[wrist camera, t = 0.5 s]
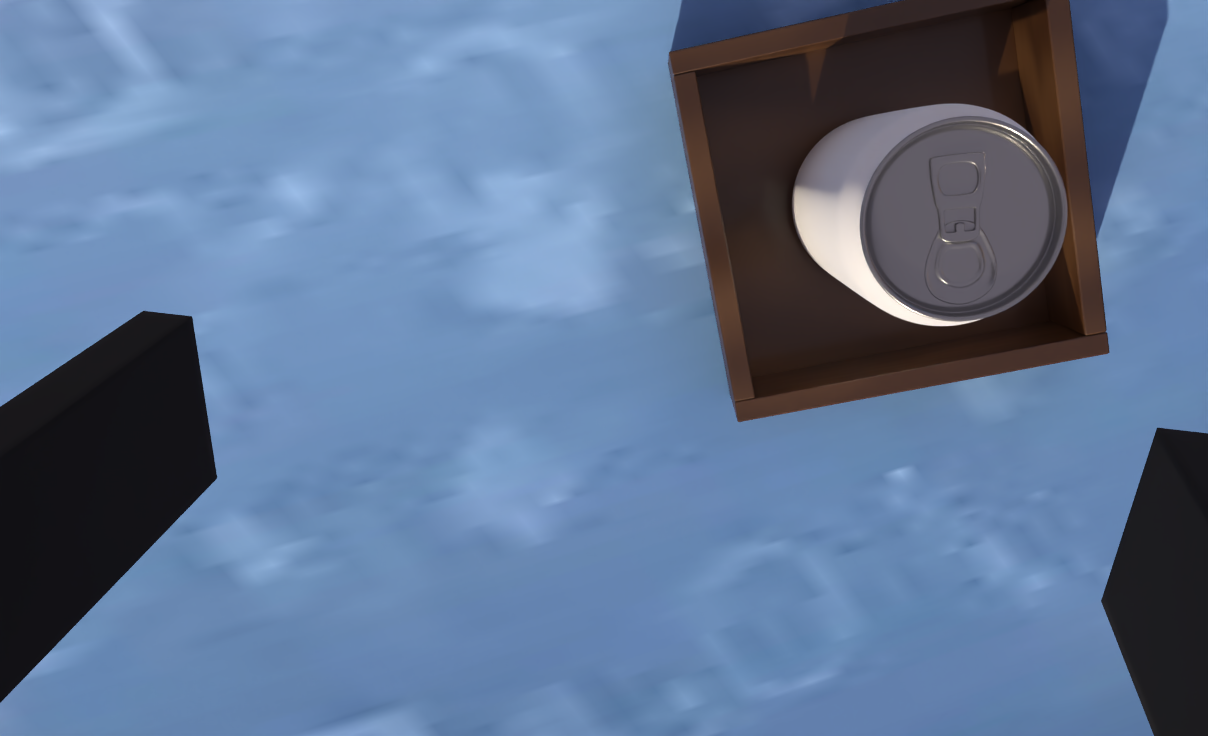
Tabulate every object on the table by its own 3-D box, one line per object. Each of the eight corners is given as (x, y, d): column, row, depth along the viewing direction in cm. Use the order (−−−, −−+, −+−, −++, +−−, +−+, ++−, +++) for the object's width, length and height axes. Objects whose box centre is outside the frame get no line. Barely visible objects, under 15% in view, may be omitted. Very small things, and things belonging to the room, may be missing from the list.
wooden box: (667, 61, 40) (668, 51, 36) (1024, -17, 38) (1066, -36, 34) (730, 397, 42) (738, 422, 38) (1067, 334, 41) (1110, 353, 37)
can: (795, 291, 41) (851, 347, 29) (783, 125, 39) (837, 113, 28) (961, 275, 40) (1086, 325, 28) (954, 106, 39) (1083, 85, 27)
